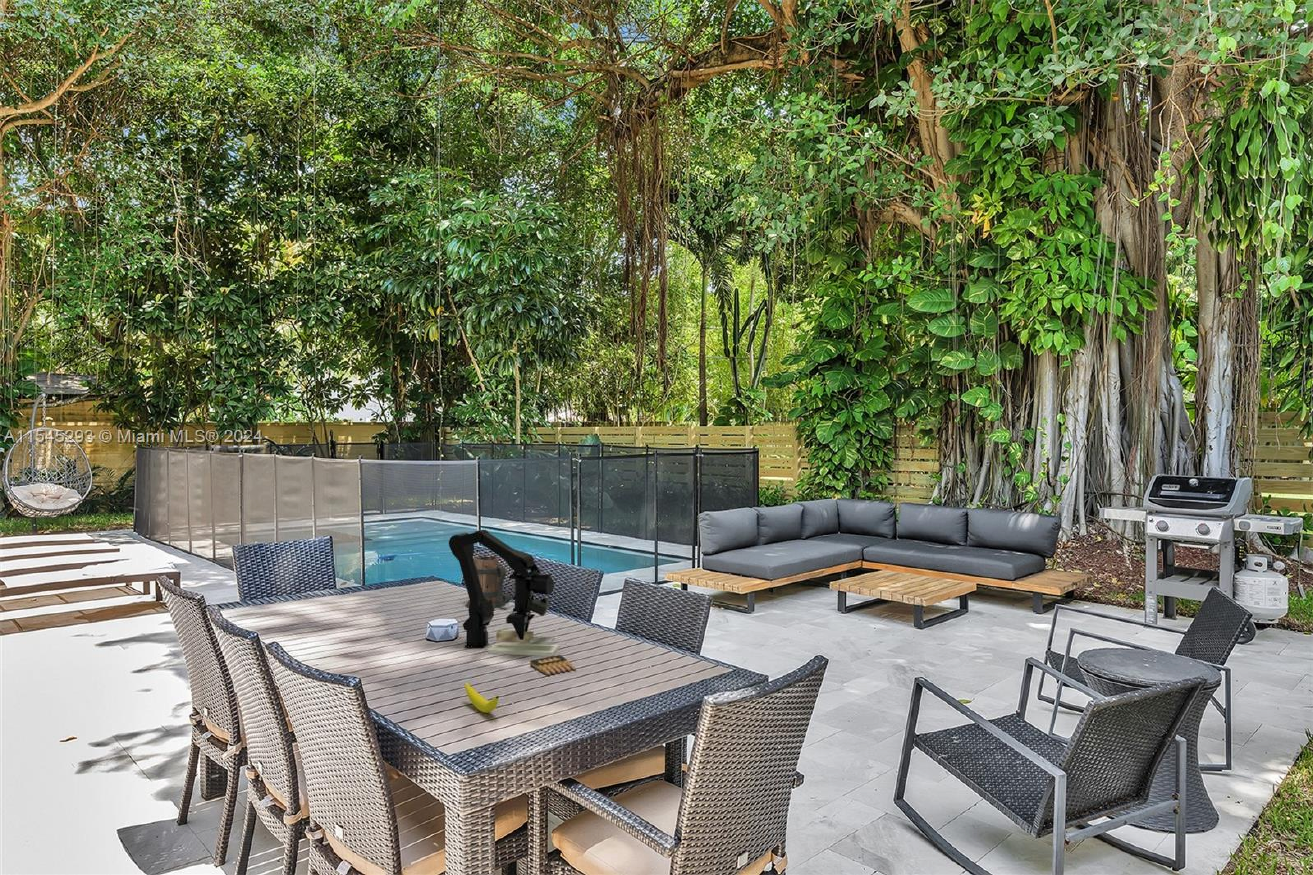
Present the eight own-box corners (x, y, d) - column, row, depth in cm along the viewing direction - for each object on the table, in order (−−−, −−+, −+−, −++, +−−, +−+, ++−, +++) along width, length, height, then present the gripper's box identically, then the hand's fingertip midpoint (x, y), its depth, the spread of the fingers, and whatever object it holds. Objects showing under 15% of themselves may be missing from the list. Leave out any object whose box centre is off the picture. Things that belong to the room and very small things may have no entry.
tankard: (457, 605, 324) (457, 558, 324) (489, 598, 337) (489, 553, 337) (491, 614, 309) (492, 564, 309) (524, 606, 322) (524, 559, 322)
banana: (470, 699, 213) (470, 676, 213) (503, 719, 198) (503, 695, 198) (460, 701, 211) (460, 678, 211) (492, 722, 196) (492, 697, 196)
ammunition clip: (530, 666, 242) (547, 678, 232) (530, 660, 242) (547, 672, 232) (560, 660, 248) (578, 671, 238) (560, 654, 248) (578, 665, 238)
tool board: (488, 653, 256) (488, 650, 256) (496, 645, 265) (496, 642, 265) (552, 656, 253) (552, 652, 253) (559, 648, 262) (559, 644, 262)
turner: (494, 642, 257) (494, 633, 257) (500, 637, 263) (500, 629, 263) (550, 645, 255) (550, 636, 255) (554, 639, 261) (554, 631, 260)
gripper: (539, 599, 248) (538, 647, 249) (553, 587, 267) (553, 631, 267) (505, 598, 250) (505, 645, 250) (522, 586, 268) (522, 630, 268)
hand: (523, 638), depth 259 cm, fingers closed on turner, 3 cm apart
